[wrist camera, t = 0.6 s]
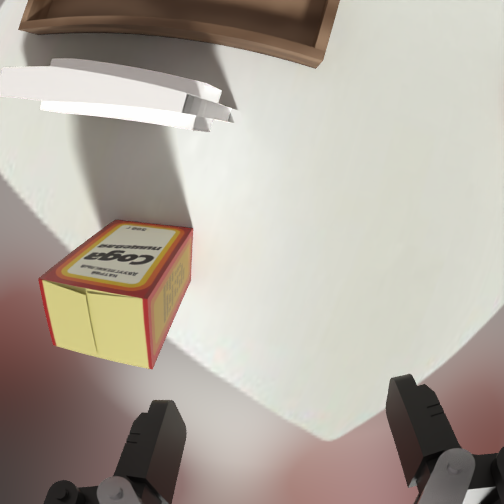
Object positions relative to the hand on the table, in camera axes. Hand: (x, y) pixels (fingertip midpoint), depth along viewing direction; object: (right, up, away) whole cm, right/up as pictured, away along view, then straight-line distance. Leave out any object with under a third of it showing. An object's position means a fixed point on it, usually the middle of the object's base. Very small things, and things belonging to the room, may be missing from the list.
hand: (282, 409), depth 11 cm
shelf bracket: (-16, +23, +20) cm, 34 cm away
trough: (-10, +33, +15) cm, 38 cm away
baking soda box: (-13, +6, +26) cm, 30 cm away
